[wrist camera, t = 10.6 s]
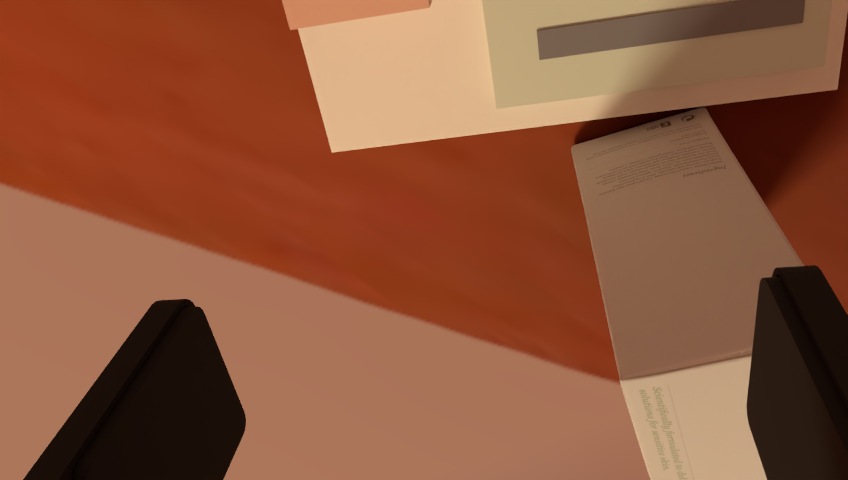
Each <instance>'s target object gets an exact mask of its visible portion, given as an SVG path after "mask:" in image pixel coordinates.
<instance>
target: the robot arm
mask: <svg viewBox="0 0 848 480" xmlns="http://www.w3.org/2000/svg"><path fill="white" fill-rule="evenodd" d="M747 418H748V423H749V427H750V430H751V433H752V436H753V439H754V442H755V445H756V448H757V451H758V454H759V457H760V460H761V463H762V466H763V469H764V472H765V475H766V477H767V480H848V315H847V314H846V312H845V310H844V309H843V307H842V305H841V303H840V302H839V300H838V298H837V297H836V295H835V293H834V292H833V290H832V288H831V287H830V285H829V283H828V282H827V280H826V278H825V276H824V275H823V273H822V271H821V270H820V269H819V267H818V266H815V265H814V266H795V267H777V268H775V269H774V271H773V274H772V277H765V278H762V279H761V280H760V284H759V292H758V301H757V311H756V320H755V329H754V339H753V348H752V358H751V367H750V376H749V386H748V395H747ZM245 425H246V418H245V413H244V410H243V408H242V405H241V403H240V400H239V398H238V395H237V393H236V390H235V388H234V385H233V383H232V380H231V378H230V376H229V373H228V371H227V368H226V366H225V363H224V361H223V358H222V356H221V353H220V351H219V348H218V346H217V343H216V341H215V338H214V336H213V333H212V331H211V328H210V326H209V324H208V321H207V319H206V316H205V314H204V312H203V310H202V309H201V308H200V307H195V305H194V304H193V302H191V301H190V300H188V299H180V300H162V301H156V302H155V303H154V304H152V305H151V307H150V308H149V309H148V311H147V312H146V313H145V315H144V316H143V318H142V319H141V320H140V322H139V323H138V324H137V326H136V327H135V329H134V330H133V331H132V332H131V334H130V335H129V337H128V338H127V339H126V341H125V342H124V343H123V345H122V346H121V347H120V349H119V350H118V352H117V353H116V354H115V356H114V357H113V358H112V360H111V361H110V362H109V364H108V365H107V367H106V368H105V369H104V371H103V372H102V373H101V375H100V376H99V377H98V379H97V380H96V381H95V383H94V384H93V386H92V387H91V388H90V390H89V391H88V392H87V394H86V395H85V396H84V398H83V399H82V401H81V402H80V403H79V404H78V406H77V407H76V409H75V410H74V411H73V413H72V414H71V415H70V417H69V418H68V419H67V421H66V422H65V423H64V425H63V426H62V428H61V429H60V430H59V432H58V433H57V434H56V436H55V437H54V439H53V440H52V441H51V443H50V444H49V445H48V447H47V448H46V449H45V451H44V452H43V453H42V455H41V456H40V458H39V459H38V460H37V462H36V463H35V464H34V466H33V467H32V468H31V470H30V471H29V472H28V474H27V475H26V476H25V478H24V479H23V480H223V479H224V476H225V474H226V472H227V470H228V467H229V465H230V463H231V460H232V459H233V456H234V454H235V452H236V450H237V447H238V445H239V443H240V441H241V438H242V436H243V434H244V431H245Z"/></svg>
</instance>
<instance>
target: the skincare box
mask: <svg viewBox="0 0 848 480" xmlns="http://www.w3.org/2000/svg"><path fill="white" fill-rule="evenodd" d="M571 151H572V156H573V160H574V165H575V170H576V174H577V179H578V183H579V188H580V193H581V197H582V201H583V205H584V210H585V215H586V220H587V224H588V229H589V234H590V239H591V244H592V249H593V254H594V258H595V263H596V267H597V272H598V277H599V282H600V286H601V291H602V296H603V301H604V306H605V311H606V315H607V320H608V325H609V330H610V334H611V339H612V344H613V349H614V353H615V358H616V363H617V368H618V373H619V378H620V383H621V387H622V390H623V394H624V397H625V400H626V404H627V407H628V410H629V413H630V417H631V420H632V423H633V426H634V430H635V433H636V436H637V439H638V442H639V446H640V449H641V452H642V455H643V458H644V461H645V465H646V468H647V470H648V474H649V476H650V480H767V477H766V475H765V472H764V469H763V466H762V463H761V460H760V457H759V454H758V451H757V448H756V445H755V442H754V439H753V436H752V433H751V430H750V427H749V423H748V418H747V395H748V386H749V376H750V367H751V358H752V348H753V339H754V329H755V320H756V311H757V301H758V292H759V284H760V280H761V279H762V278H765V277H772V274H773V271H774V269H775V268H777V267H795V266H804V265H803V263H802V262H801V260H800V259H799V257H798V255H797V254H796V252H795V251H794V249H793V247H792V246H791V244H790V243H789V241H788V240H787V238H786V236H785V235H784V233H783V232H782V230H781V229H780V227H779V225H778V224H777V222H776V221H775V219H774V217H773V216H772V214H771V213H770V211H769V210H768V208H767V206H766V205H765V203H764V202H763V200H762V198H761V197H760V195H759V194H758V192H757V191H756V189H755V187H754V186H753V184H752V183H751V181H750V179H749V178H748V176H747V175H746V173H745V171H744V170H743V168H742V167H741V165H740V164H739V162H738V160H737V159H736V157H735V156H734V154H733V152H732V151H731V149H730V148H729V146H728V144H727V143H726V141H725V140H724V138H723V137H722V135H721V133H720V132H719V130H718V128H717V127H716V125H715V123H714V122H713V120H712V118H711V117H710V115H709V113H708V111H707V109H706V108H703V107H702V108H697V109H694V110H691V111H687V112H684V113H681V114H677V115H674V116H670V117H667V118H663V119H660V120H657V121H653V122H650V123H646V124H643V125H640V126H636V127H633V128H630V129H626V130H623V131H620V132H617V133H613V134H610V135H607V136H603V137H600V138H596V139H593V140H590V141H586V142H583V143H579V144H576V145H573V146H572V147H571Z"/></svg>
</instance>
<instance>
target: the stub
mask: <svg viewBox="0 0 848 480" xmlns="http://www.w3.org/2000/svg"><path fill="white" fill-rule="evenodd" d="M282 2H283V6H284V9H285V13H286V17H287V20H288V24H289V27H290V30H293V29H299V28H305V27H312V26H318V25H324V24H331V23H337V22H343V21H349V20H356V19H362V18H368V17H375V16H381V15H387V14H393V13H400V12H406V11H412V10H419V9H425V8H430V5H431V3H432V0H282Z"/></svg>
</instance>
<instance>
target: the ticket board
mask: <svg viewBox="0 0 848 480" xmlns="http://www.w3.org/2000/svg"><path fill="white" fill-rule="evenodd" d="M847 13H848V0H432V3H431V5H430V8H425V9H419V10H412V11H406V12H400V13H393V14H387V15H381V16H375V17H368V18H362V19H356V20H349V21H343V22H337V23H331V24H324V25H318V26H312V27H305V28H299V29H298V31H299V34H300V38H301V42H302V45H303V49H304V53H305V56H306V60H307V63H308V67H309V71H310V74H311V78H312V82H313V85H314V89H315V93H316V96H317V100H318V104H319V107H320V111H321V115H322V118H323V122H324V126H325V129H326V133H327V137H328V140H329V144H330V148H331V151H332V152H339V151H347V150H355V149H363V148H371V147H380V146H388V145H396V144H404V143H412V142H420V141H428V140H436V139H444V138H452V137H460V136H468V135H476V134H484V133H492V132H500V131H508V130H516V129H524V128H532V127H540V126H548V125H556V124H564V123H572V122H580V121H589V120H597V119H605V118H613V117H621V116H629V115H637V114H645V113H653V112H661V111H669V110H677V109H685V108H693V107H701V106H709V105H717V104H725V103H733V102H741V101H749V100H757V99H765V98H773V97H781V96H789V95H797V94H806V93H814V92H822V91H830V90H837V89H838V81H839V74H840V66H841V58H842V51H843V43H844V36H845V28H846V21H847Z"/></svg>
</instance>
